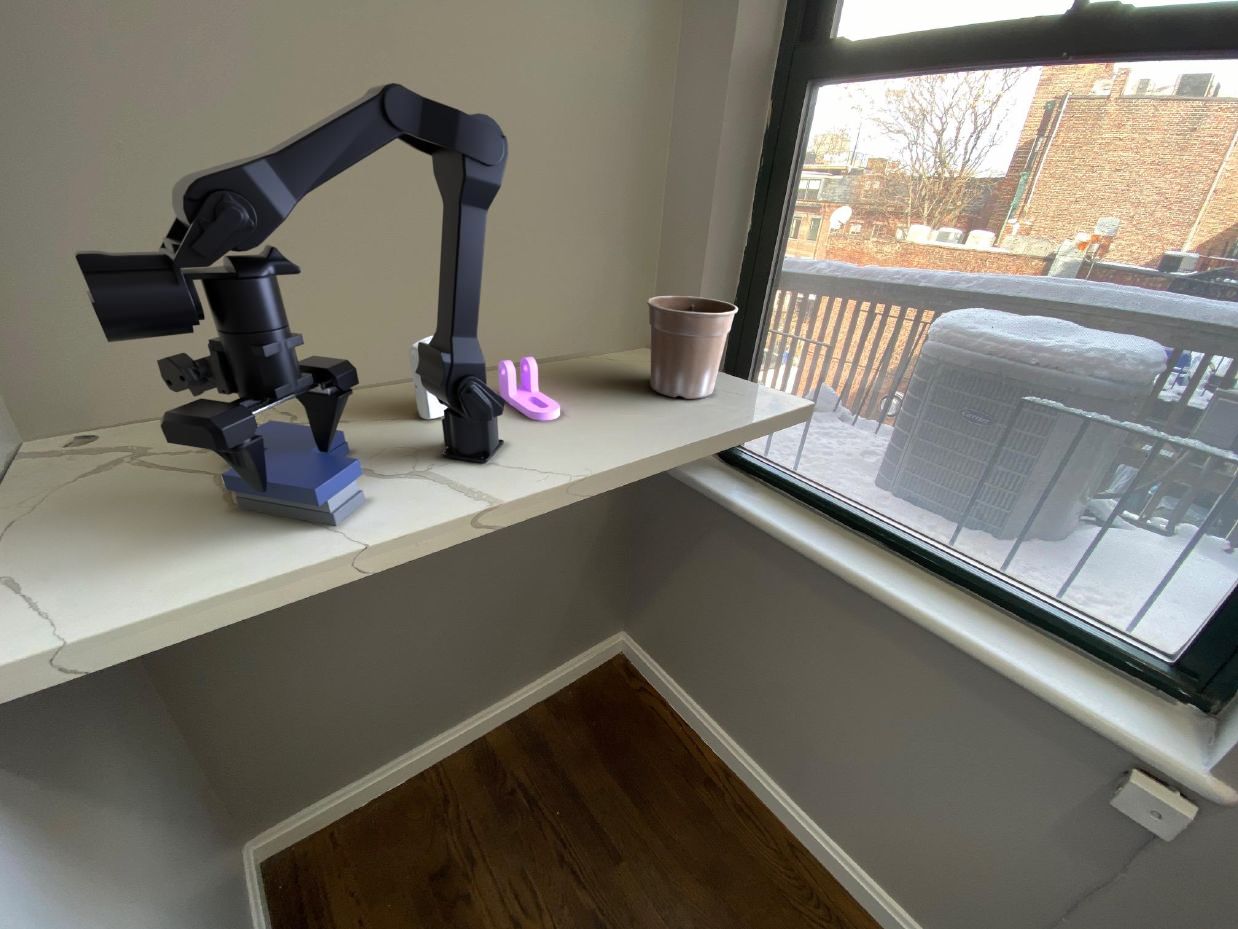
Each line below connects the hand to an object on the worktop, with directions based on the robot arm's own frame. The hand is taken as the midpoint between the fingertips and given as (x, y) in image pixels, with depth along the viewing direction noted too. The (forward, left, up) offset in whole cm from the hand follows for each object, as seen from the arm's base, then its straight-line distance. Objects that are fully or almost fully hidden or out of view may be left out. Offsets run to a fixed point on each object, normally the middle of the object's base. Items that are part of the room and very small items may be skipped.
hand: (294, 470), depth 55 cm
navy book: (0, 0, -2) cm, 2 cm away
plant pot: (-38, -54, -5) cm, 66 cm away
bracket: (-14, -36, -5) cm, 39 cm away
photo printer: (-2, -30, -5) cm, 30 cm away
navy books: (+9, -9, -4) cm, 13 cm away
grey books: (0, 0, -4) cm, 5 cm away
